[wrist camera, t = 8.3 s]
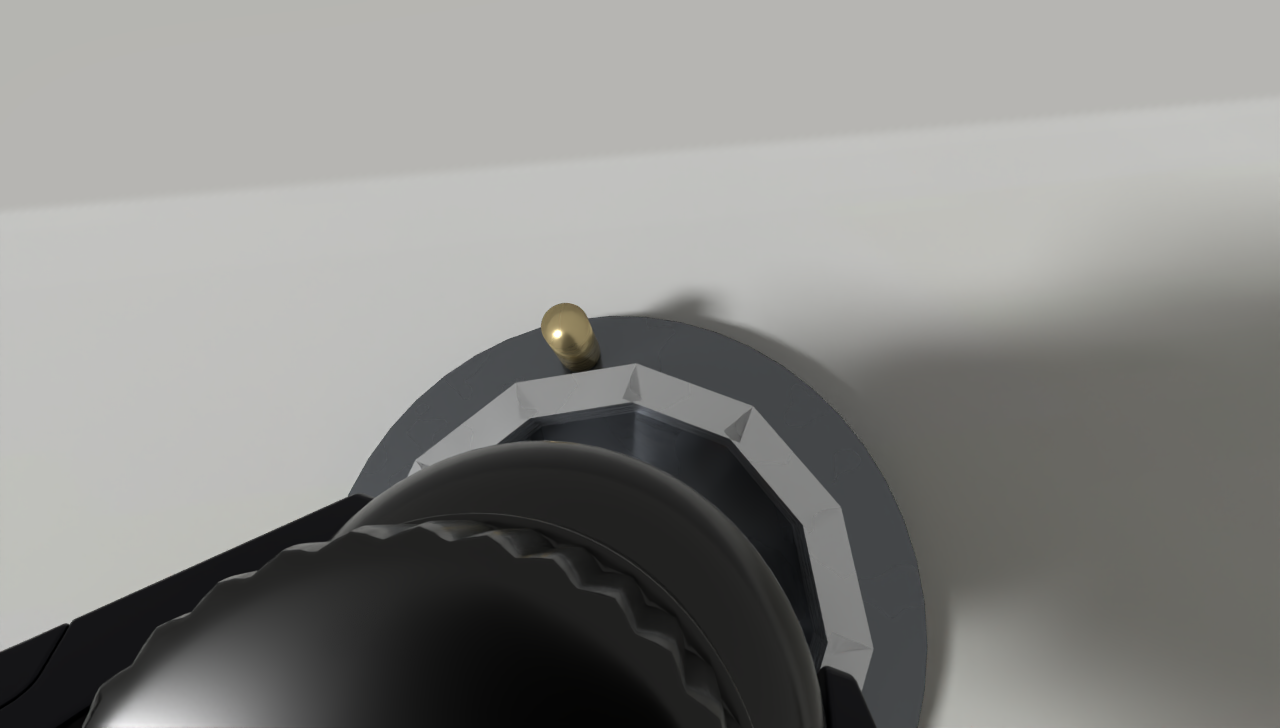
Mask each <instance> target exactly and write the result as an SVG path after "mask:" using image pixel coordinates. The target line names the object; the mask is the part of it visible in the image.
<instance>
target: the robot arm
mask: <svg viewBox="0 0 1280 728" xmlns="http://www.w3.org/2000/svg"><path fill="white" fill-rule="evenodd" d="M374 498H375V497H372V496H370V495H367V494H364V493H357V494H353V495H351V496H348V497H346V498H344V499H342V500H339V501H337V502H335V503H333V504H331V505H328V506H326V507H324V508H322V509H319V510H317V511H315V512H313V513H310V514H308V515H306V516H304V517H302V518H299V519H297V520H295V521H293V522H290V523H288V524H286V525H284V526H281V527H279V528H277V529H275V530H273V531H270V532H268V533H266V534H264V535H261V536H259V537H257V538H255V539H252V540H250V541H248V542H246V543H243V544H241V545H239V546H237V547H235V548H232V549H230V550H228V551H226V552H223V553H221V554H219V555H217V556H214V557H212V558H210V559H208V560H206V561H203V562H201V563H199V564H197V565H194V566H192V567H190V568H188V569H185V570H183V571H181V572H179V573H177V574H174V575H172V576H170V577H168V578H165V579H163V580H161V581H159V582H156V583H154V584H152V585H150V586H147V587H145V588H143V589H141V590H139V591H136V592H134V593H132V594H130V595H127V596H125V597H123V598H121V599H118V600H116V601H114V602H112V603H110V604H107V605H105V606H103V607H101V608H98V609H96V610H94V611H92V612H89V613H87V614H85V615H83V616H81V617H78V618H76V619H74V620H73V621H72V622H71V623H70V625H69V624H67V623H65V624H62V625H60V626H58V627H55V628H53V629H51V630H49V631H47V632H44V633H42V634H40V635H38V636H35V637H33V638H31V639H29V640H26V641H24V642H22V643H19V644H17V645H15V646H12V647H10V648H8V649H5V650H3V651H1V652H0V728H82V725H83V723H84V721H85V719H86V717H87V715H88V712H89V708H90V705H91V703H92V701H93V699H94V697H95V695H96V693H97V691H98V689H99V687H100V686H101V685H102V684H103V683H105V682H106V681H107V680H109V679H110V678H111V677H113V676H114V675H115V674H117V673H119V672H120V671H122V670H124V669H126V668H127V667H129V666H131V665H132V664H133V662H134V660H135V659H136V657H137V655H138V654H139V652H140V650H141V649H142V647H143V645H144V644H145V642H146V641H147V639H148V638H149V637H150V635H151V634H152V632H153V631H154V629H155V628H156V627H158V626H160V625H162V624H164V623H166V622H168V621H170V620H173V619H175V618H177V617H180V616H182V615H184V614H187V613H190V612H192V611H193V609H194V608H195V607H196V606H197V605H198V603H199V602H200V601H201V600H202V598H203V597H204V596H205V595H206V594H207V593H208V592H209V591H210V590H211V589H212V588H213V587H214V586H215V585H216V584H217V583H218V582H220V581H222V580H224V579H226V578H228V577H231V576H234V575H239V574H244V573H249V572H254V571H258V570H259V569H260V568H262V567H263V566H264V565H265V564H266V563H267V562H268V561H270V560H271V559H272V558H274V557H275V556H276V555H278V554H279V553H280V552H281V551H283V550H285V549H287V548H289V547H291V546H294V545H297V544H303V543H315V542H327V541H328V540H329V539H330V538H331V537H332V536H333V535H334V534H335V533H336V532H337V531H338V530H339V529H340V528H341V527H342V526H343V525H344V524H345V523H346V522H347V521H348V520H349V519H350V518H351V517H352V516H353V515H355V514H356V513H357V512H358V511H359V510H361V509H362V508H363V507H364V506H366V505H367V504H368V503H369V502H370V501H372V500H373V499H374ZM817 676H818V680H819V684H820V688H821V694H822V699H823V705H824V711H825V716H826V725H827V728H877V726H876V724H875V722H874V719H873V717H872V715H871V713H870V710H869V708H868V706H867V703H866V701H865V699H864V697H863V694H862V692H861V690H860V688H859V685H858V683H857V681H856V680H855V678H854V677H853V676H852V675H851V674H849V673H847V672H844V671H841V670H839V669H836V668H833V667H830V666H823V667H822V668H821V669H820V670H819V672H818V673H817Z"/></svg>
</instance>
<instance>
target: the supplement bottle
mask: <svg viewBox="0 0 1280 728" xmlns="http://www.w3.org/2000/svg"><path fill="white" fill-rule="evenodd" d="M82 728H827V725H826V716H825V711H824V705H823V699H822V694H821V688H820V684H819V680H818V676H817V673H816V669H815V665H814V662H813V658H812V655H811V652H810V649H809V646H808V644H807V641H806V638H805V635H804V633H803V630H802V627H801V625H800V623H799V621H798V618H797V616H796V614H795V612H794V610H793V608H792V606H791V604H790V602H789V599H788V597H787V596H786V594H785V592H784V591H783V589H782V587H781V586H780V584H779V582H778V580H777V579H776V577H775V575H774V574H773V572H772V571H771V569H770V568H769V566H768V565H767V564H766V562H765V561H764V559H763V558H762V557H761V555H760V554H759V552H758V551H757V550H756V548H755V547H754V546H753V544H752V543H751V542H750V541H749V540H748V539H747V538H746V536H745V535H744V534H743V533H742V532H741V531H740V529H739V528H738V527H737V526H736V525H735V524H734V523H733V522H732V521H731V520H730V519H729V518H728V517H727V516H726V515H725V514H724V513H723V512H722V511H720V510H719V509H718V508H717V507H716V506H715V505H714V504H713V503H711V502H710V501H709V500H708V499H706V498H705V497H704V496H702V495H701V494H700V493H699V492H697V491H696V490H695V489H693V488H692V487H690V486H688V485H687V484H685V483H684V482H682V481H681V480H679V479H677V478H676V477H674V476H673V475H671V474H669V473H667V472H665V471H663V470H661V469H659V468H657V467H655V466H653V465H651V464H649V463H646V462H644V461H641V460H639V459H636V458H634V457H631V456H628V455H626V454H623V453H619V452H616V451H612V450H609V449H605V448H601V447H597V446H592V445H586V444H580V443H574V442H562V441H548V440H545V441H519V442H511V443H503V444H496V445H492V446H487V447H483V448H478V449H474V450H470V451H467V452H464V453H461V454H458V455H455V456H452V457H449V458H446V459H444V460H442V461H439V462H437V463H435V464H433V465H430V466H428V467H426V468H424V469H421V470H419V471H417V472H416V473H414V474H412V475H410V476H408V477H407V478H405V479H403V480H401V481H399V482H398V483H396V484H394V485H393V486H392V487H390V488H389V489H387V490H386V491H384V492H383V493H381V494H380V495H378V496H377V497H376V498H374V499H373V500H372V501H370V502H369V503H368V504H367V505H366V506H364V507H363V508H362V509H361V510H359V511H358V512H357V513H356V514H355V515H353V516H352V517H351V518H350V519H349V520H348V521H347V522H346V523H345V524H344V525H343V526H342V527H341V528H340V529H339V530H338V531H337V532H336V533H335V534H334V535H333V536H332V537H331V538H330V539H329V540H328V541H327V542H315V543H303V544H297V545H294V546H291V547H289V548H287V549H285V550H283V551H281V552H280V553H279V554H278V555H276V556H275V557H274V558H272V559H271V560H270V561H268V562H267V563H266V564H265V565H264V566H263V567H262V568H260V569H259V570H258V571H254V572H249V573H244V574H239V575H234V576H231V577H228V578H226V579H224V580H222V581H220V582H218V583H217V584H216V585H215V586H214V587H213V588H212V589H211V590H210V591H209V592H208V593H207V594H206V595H205V596H204V597H203V598H202V600H201V601H200V602H199V603H198V605H197V606H196V607H195V608H194V609H193V611H192V612H190V613H187V614H184V615H182V616H180V617H177V618H175V619H173V620H170V621H168V622H166V623H164V624H162V625H160V626H158V627H156V628H155V629H154V631H153V632H152V634H151V635H150V637H149V638H148V639H147V641H146V642H145V644H144V645H143V647H142V649H141V650H140V652H139V654H138V655H137V657H136V659H135V660H134V662H133V664H132V665H131V666H129V667H127V668H126V669H124V670H122V671H120V672H119V673H117V674H115V675H114V676H113V677H111V678H110V679H109V680H107V681H106V682H105V683H103V684H102V685H101V686H100V687H99V689H98V691H97V693H96V695H95V697H94V699H93V701H92V703H91V705H90V708H89V712H88V715H87V717H86V719H85V721H84V723H83V725H82Z"/></svg>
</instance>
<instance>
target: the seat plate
mask: <svg viewBox="0 0 1280 728" xmlns="http://www.w3.org/2000/svg"><path fill="white" fill-rule="evenodd" d="M545 440H548V441H562V442H574V443H580V444H586V445H592V446H597V447H601V448H605V449H609V450H612V451H616V452H619V453H623V454H626V455H628V456H631V457H634V458H636V459H639V460H641V461H644V462H646V463H649V464H651V465H653V466H655V467H657V468H659V469H661V470H663V471H665V472H667V473H669V474H671V475H673V476H674V477H676V478H677V479H679V480H681V481H682V482H684V483H685V484H687V485H688V486H690V487H692V488H693V489H695V490H696V491H697V492H699V493H700V494H701V495H702V496H704V497H705V498H706V499H708V500H709V501H710V502H711V503H713V504H714V505H715V506H716V507H717V508H718V509H719V510H720V511H722V512H723V513H724V514H725V515H726V516H727V517H728V518H729V519H730V520H731V521H732V522H733V523H734V524H735V525H736V526H737V527H738V528H739V529H740V531H741V532H742V533H743V534H744V535H745V536H746V538H747V539H748V540H749V541H750V542H751V543H752V544H753V546H754V547H755V548H756V550H757V551H758V552H759V554H760V555H761V557H762V558H763V559H764V561H765V562H766V564H767V565H768V566H769V568H770V569H771V571H772V572H773V574H774V575H775V577H776V579H777V580H778V582H779V584H780V586H781V587H782V589H783V591H784V592H785V594H786V596H787V597H788V599H789V602H790V604H791V606H792V608H793V610H794V612H795V614H796V616H797V618H798V621H799V623H800V625H801V627H802V630H803V633H804V635H805V638H806V641H807V644H808V646H809V649H810V652H811V655H812V658H813V662H814V665H815V669H816V673H818V672H819V670H820V669H821V668H822V667H823V666H830V667H833V668H836V669H839V670H841V671H844V672H847V673H849V674H851V675H852V676H853V677H854V678H855V680H856V681H857V683H858V685H859V688H860V690H861V692H862V694H863V697H864V699H865V701H866V703H867V706H868V708H869V710H870V713H871V715H872V717H873V719H874V722H875V724H876V726H877V728H917V727H918V722H919V717H920V711H921V706H922V701H923V696H924V690H925V673H926V657H927V635H926V620H925V604H924V597H923V592H922V587H921V581H920V576H919V571H918V566H917V560H916V557H915V554H914V550H913V547H912V544H911V541H910V538H909V535H908V532H907V529H906V525H905V522H904V519H903V517H902V515H901V512H900V510H899V508H898V506H897V504H896V502H895V499H894V497H893V495H892V493H891V491H890V489H889V486H888V484H887V482H886V480H885V479H884V477H883V475H882V474H881V472H880V470H879V469H878V467H877V466H876V464H875V462H874V461H873V459H872V458H871V456H870V454H869V453H868V451H867V449H866V448H865V446H864V445H863V444H862V442H861V441H860V440H859V439H858V437H857V436H856V435H855V434H854V432H853V431H852V430H851V429H850V427H849V426H848V425H847V424H846V422H845V421H844V420H843V419H842V417H841V416H840V415H839V414H838V413H837V412H836V411H835V410H834V409H833V408H832V407H831V406H830V405H829V404H828V403H827V402H826V401H825V400H824V399H823V398H821V397H820V396H819V395H818V394H817V393H816V392H815V391H814V390H813V389H812V388H811V387H810V386H808V385H807V384H806V383H804V382H803V381H802V380H800V379H799V378H798V377H797V376H795V375H794V374H793V373H791V372H790V371H789V370H787V369H786V368H785V367H783V366H782V365H780V364H779V363H777V362H775V361H774V360H772V359H770V358H768V357H767V356H765V355H763V354H761V353H760V352H758V351H756V350H755V349H753V348H751V347H749V346H747V345H745V344H742V343H740V342H738V341H735V340H733V339H730V338H728V337H726V336H723V335H721V334H719V333H716V332H713V331H709V330H706V329H702V328H699V327H695V326H692V325H688V324H685V323H681V322H675V321H668V320H661V319H655V318H648V317H621V316H608V317H598V318H587V316H586V314H585V312H584V311H583V310H582V309H581V308H580V307H578V306H576V305H574V304H570V303H561V304H558V305H555V306H553V307H552V308H550V309H549V310H548V311H547V312H546V314H545V315H544V317H543V319H542V323H541V328H538V329H535V330H532V331H530V332H527V333H524V334H521V335H519V336H516V337H513V338H510V339H507V340H505V341H503V342H501V343H499V344H497V345H495V346H494V347H492V348H490V349H488V350H486V351H484V352H482V353H480V354H478V355H476V356H474V357H473V358H471V359H470V360H468V361H467V362H465V363H464V364H462V365H461V366H459V367H458V368H456V369H455V370H453V371H452V372H450V373H449V374H447V375H446V376H444V377H443V378H442V379H441V380H439V381H438V382H437V383H436V384H435V385H434V386H432V387H431V388H430V389H429V390H428V391H427V392H425V393H424V394H423V395H422V396H421V397H420V398H418V399H417V400H416V401H415V402H414V403H413V404H412V406H411V407H410V408H409V409H408V410H407V411H406V412H405V413H404V414H403V415H402V416H401V417H400V419H399V420H398V421H397V422H396V423H395V424H394V425H393V426H392V427H391V428H390V430H389V431H388V433H387V434H386V435H385V437H384V438H383V439H382V441H381V442H380V444H379V445H378V446H377V448H376V449H375V451H374V452H373V453H372V455H371V456H370V457H369V459H368V461H367V462H366V464H365V466H364V468H363V469H362V471H361V473H360V475H359V477H358V478H357V480H356V482H355V484H354V485H353V487H352V489H351V491H350V493H349V495H348V496H351V495H353V494H357V493H364V494H367V495H370V496H372V497H375V498H376V497H377V496H378V495H380V494H381V493H383V492H384V491H386V490H387V489H389V488H390V487H392V486H393V485H394V484H396V483H398V482H399V481H401V480H403V479H405V478H407V477H408V476H410V475H412V474H414V473H416V472H417V471H419V470H421V469H424V468H426V467H428V466H430V465H433V464H435V463H437V462H439V461H442V460H444V459H446V458H449V457H452V456H455V455H458V454H461V453H464V452H467V451H470V450H474V449H478V448H483V447H487V446H492V445H496V444H503V443H511V442H519V441H545Z"/></svg>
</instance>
